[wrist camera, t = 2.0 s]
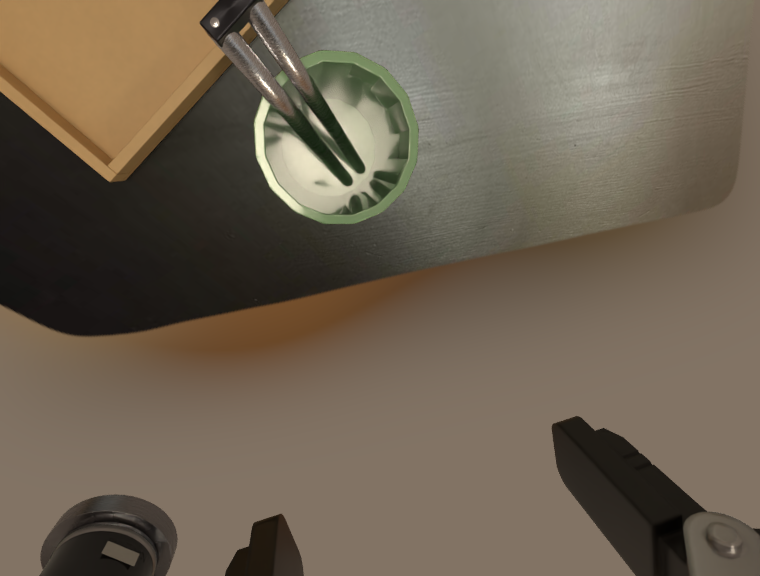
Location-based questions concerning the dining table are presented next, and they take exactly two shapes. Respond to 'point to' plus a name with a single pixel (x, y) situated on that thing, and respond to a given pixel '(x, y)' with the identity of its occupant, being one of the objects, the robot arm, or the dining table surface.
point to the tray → (109, 71)
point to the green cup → (363, 128)
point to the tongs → (223, 25)
